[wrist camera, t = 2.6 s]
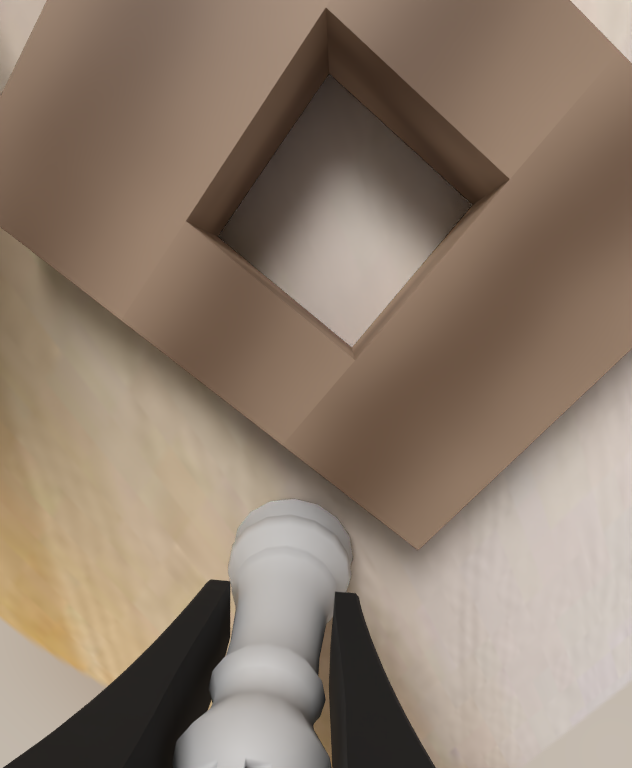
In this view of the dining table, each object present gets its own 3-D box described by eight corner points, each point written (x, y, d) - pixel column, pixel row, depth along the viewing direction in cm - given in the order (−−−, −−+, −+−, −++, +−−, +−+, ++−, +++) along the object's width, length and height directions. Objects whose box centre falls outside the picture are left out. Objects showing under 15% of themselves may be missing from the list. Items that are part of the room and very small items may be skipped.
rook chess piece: (376, 550, 14) (422, 863, 6) (292, 612, 15) (240, 952, 7) (296, 468, 14) (237, 701, 6) (213, 538, 14) (65, 820, 7)
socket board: (679, 230, 11) (776, 211, 9) (403, 504, 14) (418, 550, 11) (250, -189, 9) (220, -358, 7) (32, 212, 12) (-46, 191, 10)
